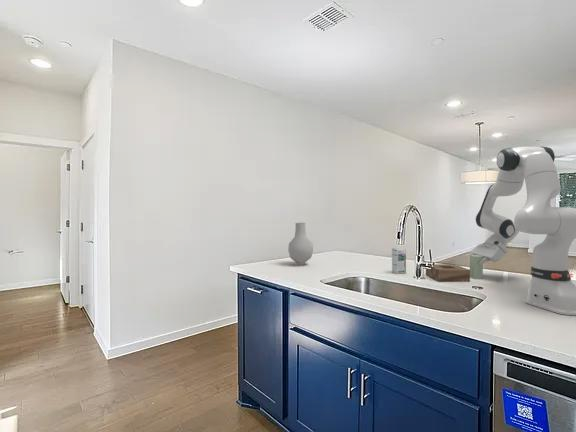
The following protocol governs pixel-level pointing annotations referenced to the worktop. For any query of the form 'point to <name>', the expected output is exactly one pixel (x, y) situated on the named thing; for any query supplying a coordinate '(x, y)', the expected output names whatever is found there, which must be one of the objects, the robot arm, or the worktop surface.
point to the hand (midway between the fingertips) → (476, 263)
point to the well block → (448, 273)
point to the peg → (476, 267)
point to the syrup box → (398, 260)
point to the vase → (300, 246)
